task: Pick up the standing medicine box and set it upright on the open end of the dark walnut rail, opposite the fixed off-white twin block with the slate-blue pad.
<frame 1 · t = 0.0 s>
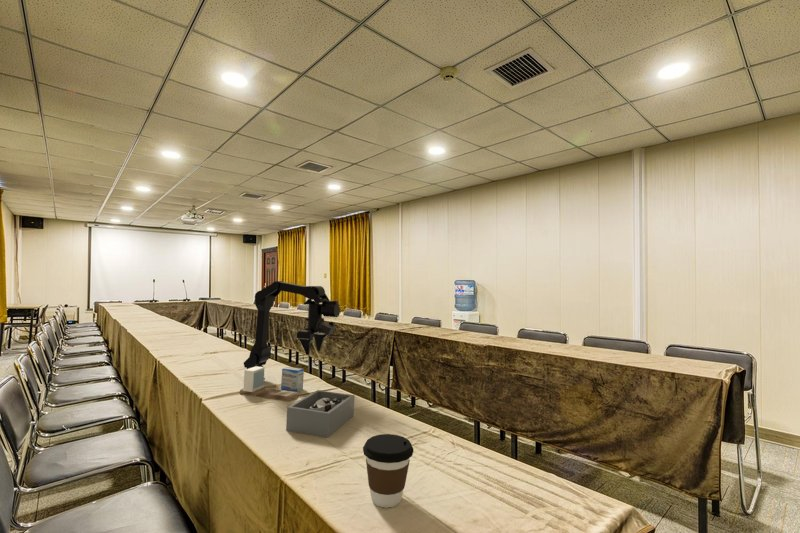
hand: (313, 352, 160), 15 cm above the table, tool pointing down, fingers open, 9 cm apart
medicine box: (291, 390, 157), on the table
coffee cup: (386, 500, 82), on the table
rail: (268, 395, 148), on the table
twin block: (253, 389, 150), resting on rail
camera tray: (321, 422, 123), on the table
camera: (322, 423, 123), resting in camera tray
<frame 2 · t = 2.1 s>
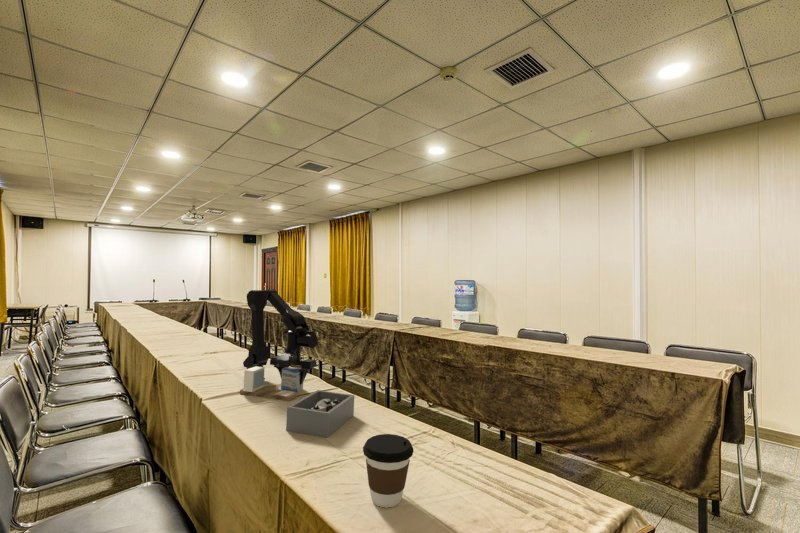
hand: (292, 383, 157), 3 cm above the table, tool pointing down, fingers closed on medicine box, 8 cm apart
medicine box: (291, 389, 157), on the table, touching gripper
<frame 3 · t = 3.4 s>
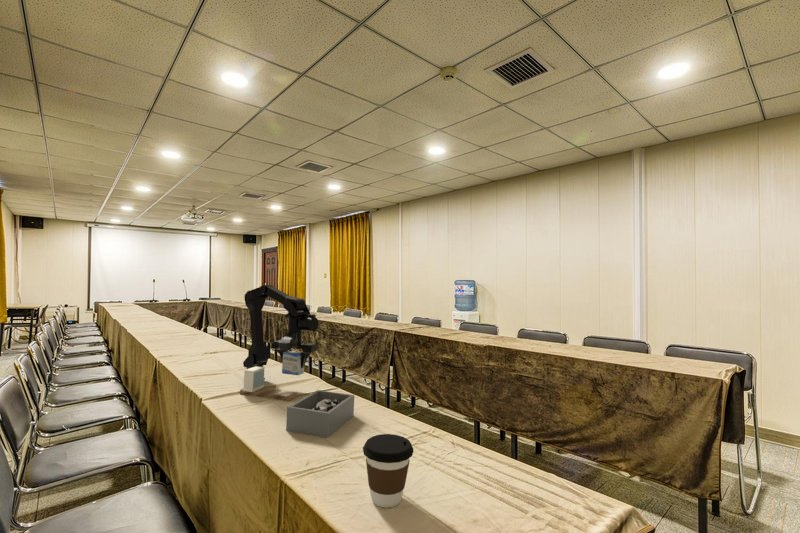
hand: (293, 367, 157), 9 cm above the table, tool pointing down, fingers closed on medicine box, 8 cm apart
medicine box: (292, 373, 157), point 6 cm above the table, touching gripper
camera: (322, 425, 121), resting in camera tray
everything else where it was.
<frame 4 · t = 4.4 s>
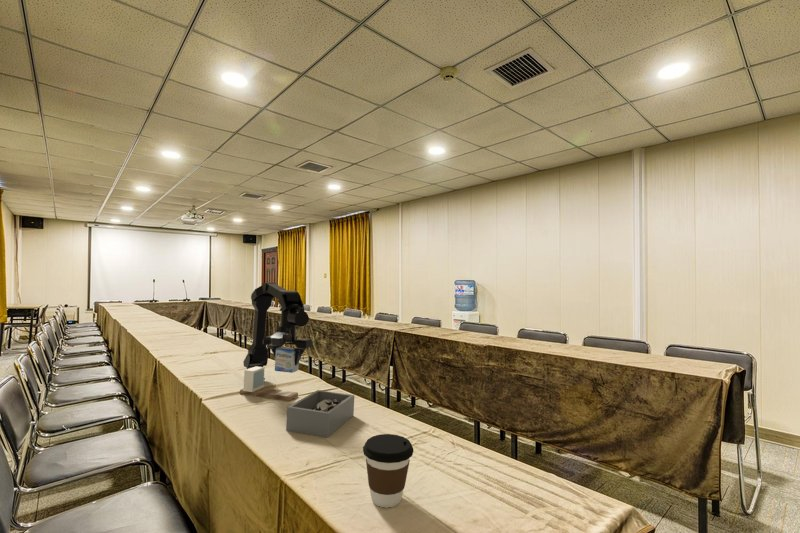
hand: (286, 364, 147), 13 cm above the table, tool pointing down, fingers closed on medicine box, 8 cm apart
medicine box: (286, 371, 147), point 10 cm above the table, touching gripper
camera: (322, 425, 121), resting in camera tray
everything else where it was.
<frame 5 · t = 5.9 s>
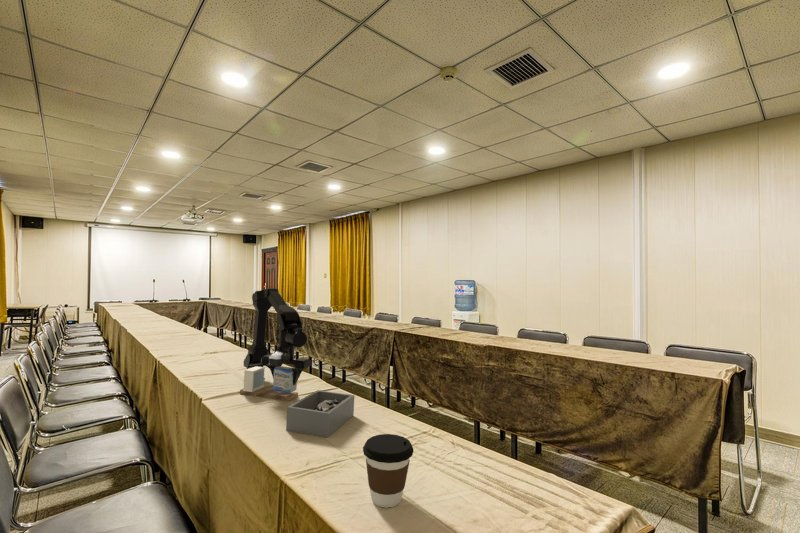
hand: (284, 383, 147), 5 cm above the table, tool pointing down, fingers closed on medicine box, 8 cm apart
medicine box: (284, 390, 146), point 2 cm above the table, touching gripper
when the fingers open (5 cm above the table, at t = 6.8 s): medicine box drops 1 cm, resting on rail.
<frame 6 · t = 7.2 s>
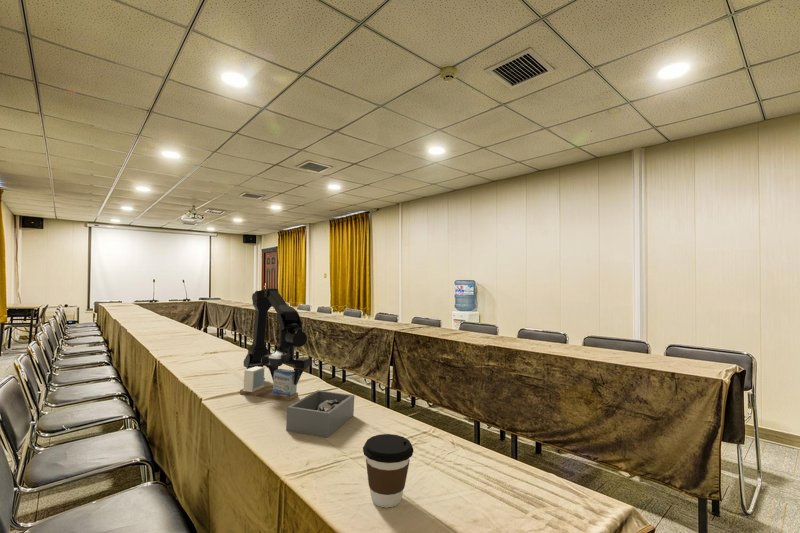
hand: (285, 383, 146), 5 cm above the table, tool pointing down, fingers open, 9 cm apart
medicine box: (284, 393, 146), point 1 cm above the table, touching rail
everything else where it was.
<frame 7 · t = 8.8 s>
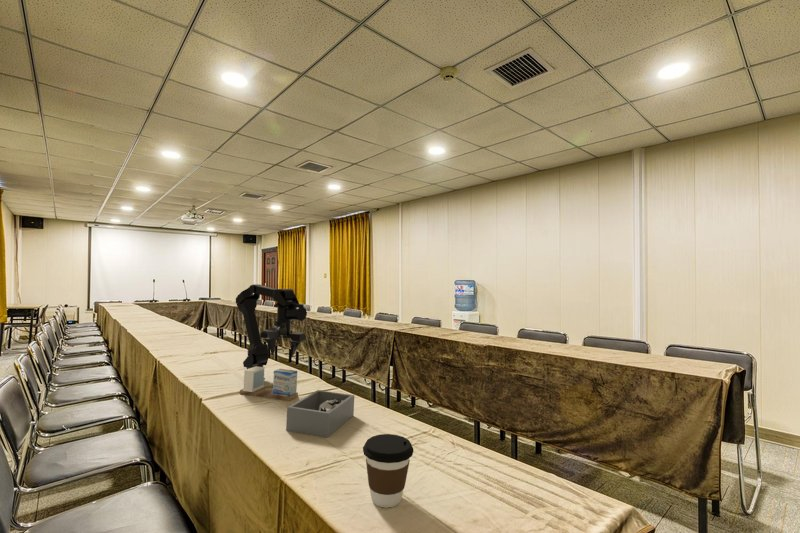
hand: (282, 355, 160), 13 cm above the table, tool pointing down, fingers open, 9 cm apart
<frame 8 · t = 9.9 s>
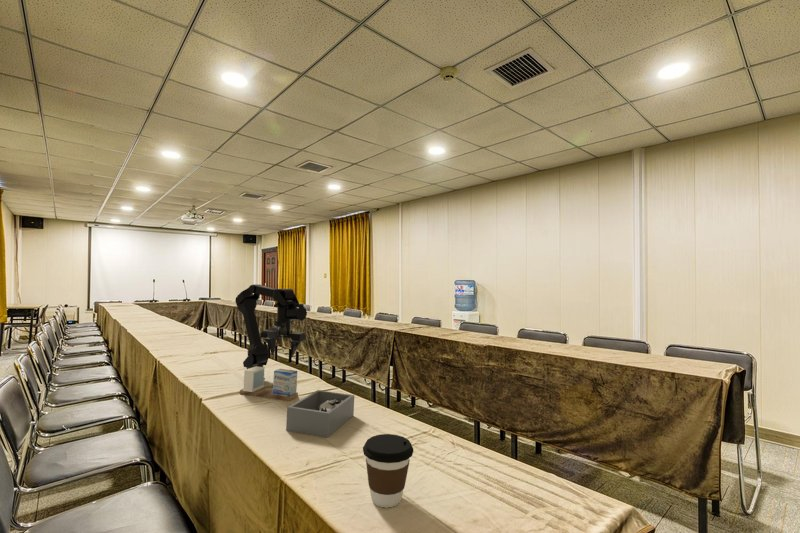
hand: (282, 355, 160), 13 cm above the table, tool pointing down, fingers open, 9 cm apart
at the end: medicine box inside the target area (0.4 cm from its centre), point 1.4 cm above the table; medicine box tilted 0°; the gripper is holding nothing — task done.
